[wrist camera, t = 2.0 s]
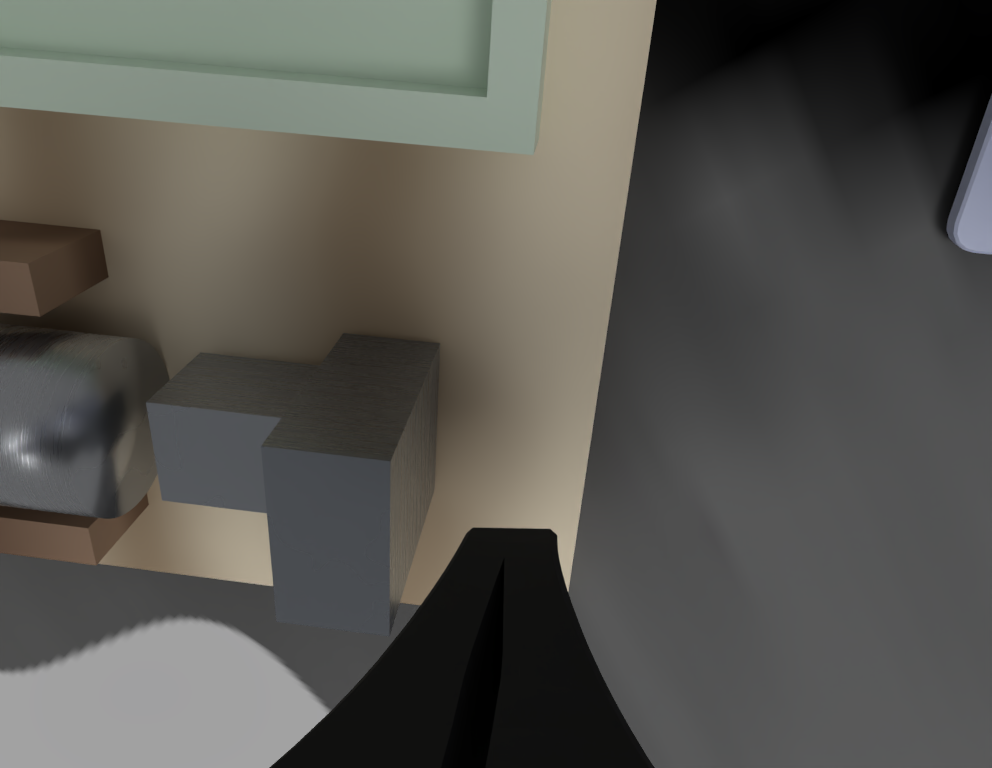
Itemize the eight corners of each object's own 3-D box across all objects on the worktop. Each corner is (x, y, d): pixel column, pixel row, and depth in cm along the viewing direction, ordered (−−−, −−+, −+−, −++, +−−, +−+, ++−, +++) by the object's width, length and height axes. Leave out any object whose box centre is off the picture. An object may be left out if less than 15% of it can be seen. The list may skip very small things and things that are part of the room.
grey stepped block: (440, 343, 15) (390, 461, 11) (434, 489, 17) (389, 636, 13) (201, 317, 15) (71, 423, 12) (218, 463, 17) (111, 599, 13)
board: (727, -517, 10) (741, -566, 9) (564, 595, 19) (563, 623, 18) (-658, -566, 11) (-761, -612, 11) (-196, 498, 21) (-231, 521, 20)
